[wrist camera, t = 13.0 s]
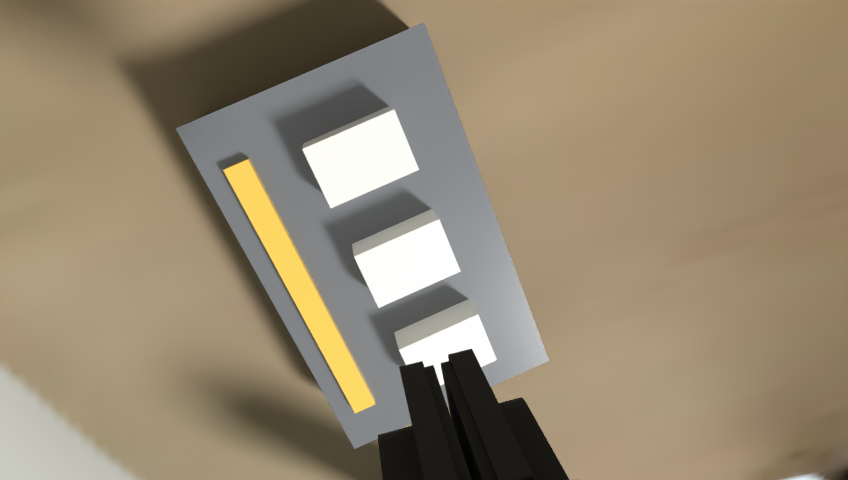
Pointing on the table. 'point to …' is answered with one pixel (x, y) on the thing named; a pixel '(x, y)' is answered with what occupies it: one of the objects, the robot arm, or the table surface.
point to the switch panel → (369, 227)
